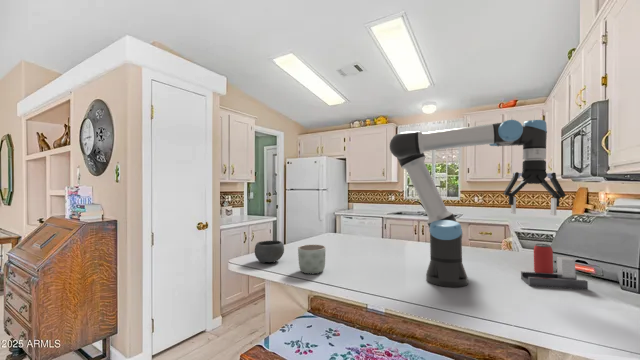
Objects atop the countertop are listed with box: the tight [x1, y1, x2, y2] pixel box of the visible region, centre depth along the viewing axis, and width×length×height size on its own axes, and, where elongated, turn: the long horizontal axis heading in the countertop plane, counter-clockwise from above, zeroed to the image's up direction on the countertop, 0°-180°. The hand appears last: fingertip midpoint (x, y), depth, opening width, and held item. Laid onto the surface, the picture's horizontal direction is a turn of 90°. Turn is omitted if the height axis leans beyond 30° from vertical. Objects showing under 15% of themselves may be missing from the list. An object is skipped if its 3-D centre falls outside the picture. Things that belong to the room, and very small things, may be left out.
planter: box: [297, 244, 327, 275], centre depth 134 cm, size 12×12×11 cm
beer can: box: [533, 243, 554, 273], centre depth 127 cm, size 7×7×12 cm
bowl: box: [254, 240, 285, 263], centre depth 152 cm, size 15×15×10 cm
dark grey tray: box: [520, 271, 589, 291], centre depth 113 cm, size 18×8×3 cm, turn 75°
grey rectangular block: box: [556, 256, 576, 280], centre depth 112 cm, size 4×4×10 cm
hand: (533, 214), depth 117 cm, fingers open, 13 cm apart
